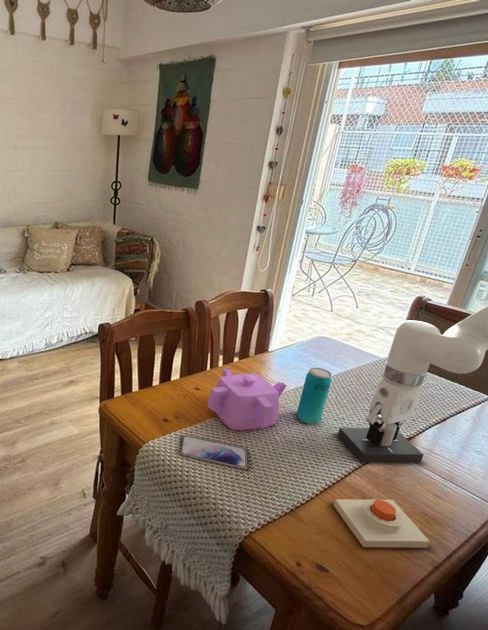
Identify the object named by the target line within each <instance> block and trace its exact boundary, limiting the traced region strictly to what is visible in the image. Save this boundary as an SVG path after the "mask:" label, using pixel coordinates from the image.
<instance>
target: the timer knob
mask: <svg viewBox="0 0 488 630" xmlns="http://www.w3.org/2000/svg"><path fill="white" fill-rule="evenodd" d="M377 422H378V423H379V424H380V425H381V423H382V421H381V420H379V419H377ZM396 429H397V425H396V424H395V423H392V424H386V426H385V428H384V430H383V431H384V432H385V433H384V436H383V439H382V441H381V444H380V445H382V446H389V445H391V442H392V440H393V437H394V434H395V431H396Z"/></svg>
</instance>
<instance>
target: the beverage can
mask: <svg viewBox="0 0 488 630" xmlns="http://www.w3.org/2000/svg"><path fill="white" fill-rule="evenodd" d="M305 375H306V376H305V379H304V384H303V387H302V391H301V395H300V399H299V403H298V406H297V407H298V408H297V411H296V415H297V418H298V420H299V421H301V422H303V423H305V424H307V425H317V424H318V423H319V422H320V421H321V419H322V416H323V413H324V409H325V406H326V401H327V398H328V394H329V391H330V388H331V384H332V372H330V371H329V370H327V369H325V368H323V367H322V368H321V367H310V368H308V372H307V373H306V374H305Z"/></svg>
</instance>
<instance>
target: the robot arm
mask: <svg viewBox="0 0 488 630" xmlns="http://www.w3.org/2000/svg"><path fill="white" fill-rule="evenodd" d="M487 351H488V304H487V305H485V306H483V307H482V308H480V309H479V310H476V312H473V313H472V314H470V315H469V316H467V317H465V318H464V319H462V320H461V321H459V322H457V323H455V324H453V326H451V327H450V328H448V329H447V330H446V331H445V332H444V333H443V334H441V332H440V329H439V328H438V327H436V326H435V325H433V324H431V323H428V322H426V321H425V322H424V321H420V320H412V319H411V320H410V319H409V320H404V321H401V322H400V323H399V324H398V325H397V327H396V329H395V334H394V337H393V340H392V342H391V345H390V348H389V352H388V355H387V357H386V361H385V363H384V367H383V370H382V373H381V377H382V378H381V379H380V381H379V383H378V385H377V387H376V388H375V391H374V394H373V396H372V399H371V402H370V405H369V410H368V415H367V416H366V417H365V421H366V422H367V423H368V426H369V427H368V428H369V430H368V433H367V436H366V438H367V439H368V440H370V441H371V442H373V443H374V444H376V445H380V444H381V441H382V439H383V436H384V433H385V432H384V431H383V430H384V428H385V426H386V424H392V423H395V424H396V425H397V429H396V431H395V434H394V437H393V440H396V437H397V434H398V432H400V429H401V426H402V425H403V423H404V421H405V420H409V419H411V418H412V417H413V418H414V416H415V415H416V413H417V409H418V405H419V402H420V399H421V395H422V392H423V391H422V390H423V383H424V380H425V378H426V376H427V374H428V370H429V367H430V364H431V365H434V366H436V367H439V368H440V369H441V370H442V369H443V370H445V371H447V372H451V373H454V374H469V373H473V372H475V371H477V369H479V368H480V367H481V365H482V364H483V362H484V358H485V355H486V352H487ZM377 419H379V420H381V421H382V423H381V425H380V424H379V423H378V422H377Z"/></svg>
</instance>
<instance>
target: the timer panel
mask: <svg viewBox="0 0 488 630" xmlns="http://www.w3.org/2000/svg"><path fill="white" fill-rule="evenodd" d="M368 430H369V427H339V428H338V432H337V437H338V438H339V439H340V440H341V442H342V443H344V445H345V446H346V447H347V448H348V449H349V450H350V451H351V452H352V454H353V455H354V456H355V457H356V458H357V459H358V461H360V462H361V463H392V464H394V463H398V464H399V463H400V464H401V463H403V464H405V463H407V464H421V462H422V460H423V457H424V455H425V454H423V452H421V451H420V450H419V449H418V448H417V447H416V446H415V445H414V444H413V443H412V442H410V441H409V440H408V438H406V437H405V436H404V435H402V433H400V431H398V434H397V437H396V440H392V442H391V445H389V446H382V445H376V444H374V443H373V442H371V441H370V440H368V439H367V438H366V436H367V433H368Z"/></svg>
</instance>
